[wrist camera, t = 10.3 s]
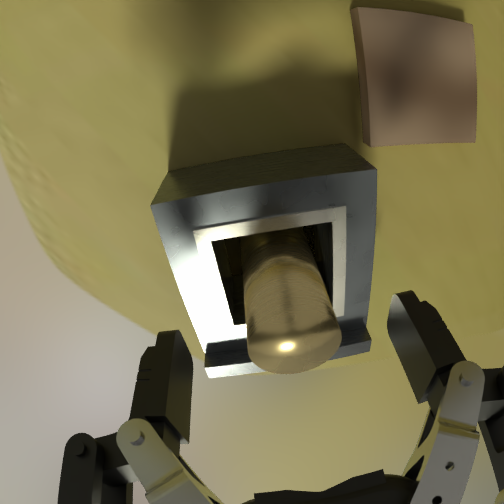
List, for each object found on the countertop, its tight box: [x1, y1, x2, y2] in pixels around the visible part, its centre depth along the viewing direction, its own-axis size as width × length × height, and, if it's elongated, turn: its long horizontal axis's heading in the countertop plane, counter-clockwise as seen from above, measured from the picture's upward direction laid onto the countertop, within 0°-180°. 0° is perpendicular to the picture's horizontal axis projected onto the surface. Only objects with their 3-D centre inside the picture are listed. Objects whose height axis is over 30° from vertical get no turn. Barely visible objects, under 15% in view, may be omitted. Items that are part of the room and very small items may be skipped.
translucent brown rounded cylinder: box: [240, 226, 342, 374], centre depth 14 cm, size 3×3×8 cm
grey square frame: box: [150, 144, 377, 378], centre depth 16 cm, size 10×9×5 cm
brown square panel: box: [350, 7, 477, 147], centre depth 12 cm, size 7×7×1 cm
